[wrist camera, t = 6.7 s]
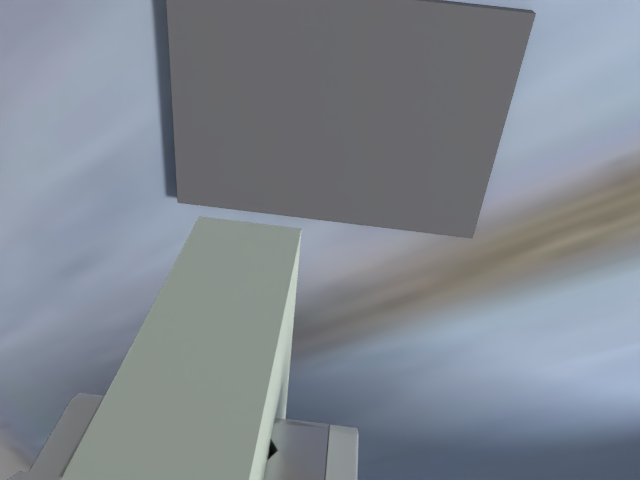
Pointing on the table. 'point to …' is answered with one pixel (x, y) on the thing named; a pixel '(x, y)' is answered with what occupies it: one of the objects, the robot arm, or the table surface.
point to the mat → (343, 107)
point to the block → (203, 364)
